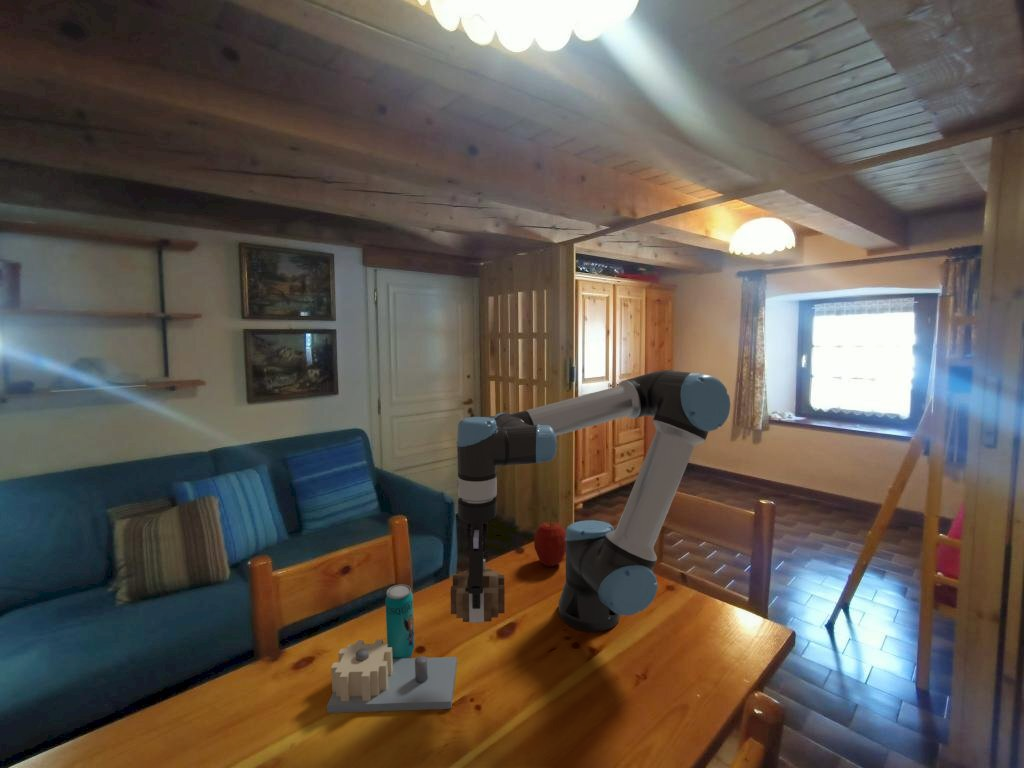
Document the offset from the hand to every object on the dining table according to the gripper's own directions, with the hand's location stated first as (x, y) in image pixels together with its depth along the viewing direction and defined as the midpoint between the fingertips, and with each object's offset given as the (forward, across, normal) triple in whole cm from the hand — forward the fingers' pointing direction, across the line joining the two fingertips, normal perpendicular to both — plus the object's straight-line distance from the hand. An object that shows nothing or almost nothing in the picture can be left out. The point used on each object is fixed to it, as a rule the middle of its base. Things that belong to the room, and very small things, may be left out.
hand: (477, 604), depth 92 cm
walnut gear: (0, 0, 0) cm, 0 cm away
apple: (+16, -47, +20) cm, 53 cm away
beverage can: (+17, -8, -17) cm, 25 cm away
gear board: (+16, +1, -16) cm, 23 cm away
